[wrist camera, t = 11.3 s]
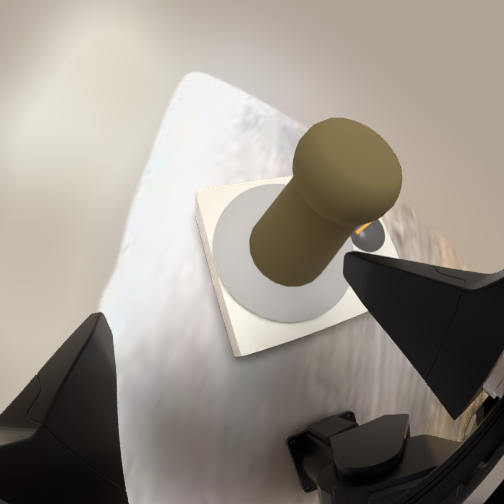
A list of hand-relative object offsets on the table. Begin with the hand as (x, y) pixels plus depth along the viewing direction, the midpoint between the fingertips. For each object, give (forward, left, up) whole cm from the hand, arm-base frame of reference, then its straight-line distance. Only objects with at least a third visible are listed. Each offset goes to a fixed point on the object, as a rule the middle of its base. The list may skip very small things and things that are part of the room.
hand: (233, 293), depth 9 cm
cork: (+4, -6, -9) cm, 12 cm away
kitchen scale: (+4, -9, -14) cm, 17 cm away
